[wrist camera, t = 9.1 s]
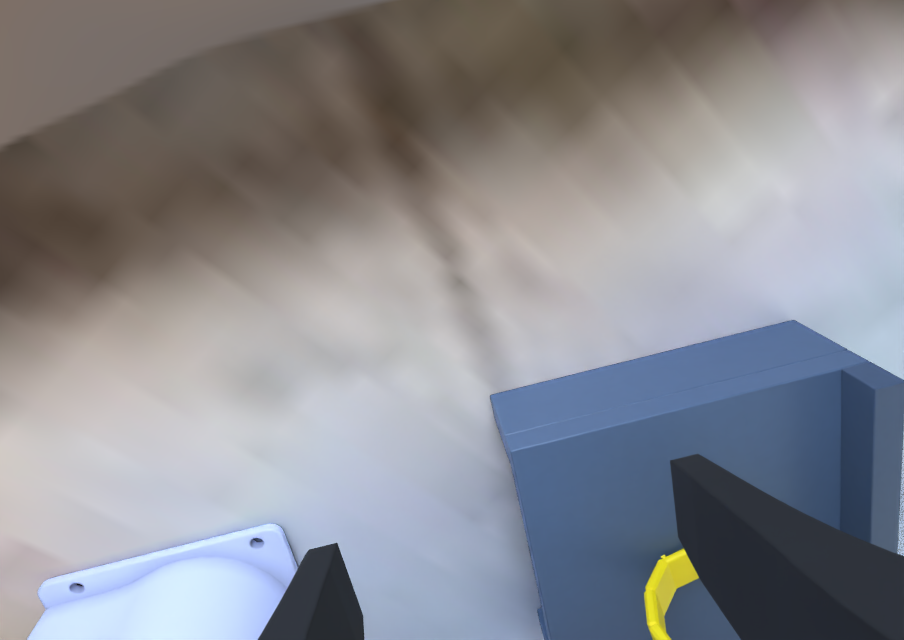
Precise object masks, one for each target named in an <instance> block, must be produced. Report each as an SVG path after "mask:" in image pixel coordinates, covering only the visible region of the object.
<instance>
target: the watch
mask: <svg viewBox="0 0 904 640" xmlns="http://www.w3.org/2000/svg"><path fill="white" fill-rule="evenodd" d="M661 558H662V559H660V560H658V562H657V564H656V566H655V568H654V570H653V572H652V574H651V576H650V578H649V580H648V582H647V584H646V586H645V589H646V591H645V592H644V598H645V608H646V617H647V625H648V628H649V631H650V633H651V636H652V639H653V640H671V638H670V637H669V636H668V634H667V633H666V626H665V619H664V616H665V613H666V611H667V609H668V607H669V604H670V602H671V600H672V598H673V595H674V593H675V591H676V589H677V588H679V587H681V586H684V585H686V584H688V583H690V582H692V581H694V580H696V579H698V578H699V576H698V575H697V573H696V571H695V569H694V567H693V565H692V563H691V561H690V560H689V558H688V556H687V554H686V552H685V550H684V548H683V549H681V550H679V551H677V552H675V553H673V554H671V555H669V556H667V557H666V555H663V556H661Z"/></svg>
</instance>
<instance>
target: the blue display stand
mask: <svg viewBox="0 0 904 640" xmlns="http://www.w3.org/2000/svg"><path fill="white" fill-rule="evenodd" d="M490 399H491V403H492V408H493V413H494V417H495V421H496V424H497V427H498V430H499V433H500V436H501V438H502V441H503V444H504V447H505V450H506V453H507V456H508V458H509V461H510V464H511V468H512V473H513V477H514V482H515V487H516V491H517V496H518V501H519V505H520V510H521V514H522V519H523V524H524V528H525V533H526V537H527V542H528V547H529V551H530V556H531V560H532V565H533V570H534V574H535V579H536V583H537V588H538V593H539V597H540V602H541V607H542V608H540V609H538V610H537V612H538V616H539V621H540V625H541V630H542V633H543V636H544V640H653V639H652V636H651V633H650V631H649V628H648V625H647V617H646V608H645V598H644V592H645V591H646V589H645V586H646V584H647V582H648V580H649V578H650V576H651V574H652V572H653V570H654V568H655V566H656V564H657V562H658V560H660V559H662V558H661V556H663V555H666V557H667V556H669V555H671V554H673V553H675V552H677V551H679V550H681V549H683V546H682V544H681V542H680V540H679V538H678V532H677V523H676V513H675V504H674V494H673V485H672V476H671V466H670V460H674V459H678V458H682V457H686V456H690V455H694V454H699V455H701V456H703V457H705V458H707V459H708V460H710V461H712V462H713V463H715V464H717V465H719V466H720V467H722V468H724V469H725V470H727V471H729V472H730V473H732V474H734V475H736V476H737V477H739V478H741V479H742V480H744V481H746V482H748V483H749V484H751V485H753V486H755V487H756V488H758V489H760V490H762V491H763V492H765V493H767V494H769V495H771V496H772V497H774V498H776V499H778V500H780V501H782V502H784V503H785V504H787V505H789V506H791V507H793V508H795V509H797V510H799V511H801V512H803V513H805V514H807V515H809V516H811V517H813V518H815V519H817V520H819V521H821V522H823V523H825V524H828V525H830V526H832V527H834V528H836V529H838V530H840V531H843V532H845V533H847V534H849V535H852V536H854V537H856V538H859V539H861V540H864V541H866V542H869V543H871V544H873V545H876V546H878V547H881V548H883V549H886V550H888V551H891V552H893V553H896V554H897V551H898V531H899V510H900V490H901V470H902V450H903V430H904V380H902V379H901V378H899V377H897V376H895V375H893V374H892V373H890V372H888V371H886V370H884V369H882V368H881V367H879V366H877V365H875V364H873V363H872V362H869V361H868V360H866V359H864V358H862V357H860V356H859V355H857V354H855V353H853V352H851V351H849V350H847V349H846V348H844V347H842V346H840V345H839V344H837V343H835V342H833V341H831V340H829V339H828V338H826V337H824V336H822V335H820V334H819V333H817V332H815V331H813V330H811V329H809V328H808V327H806V326H804V325H802V324H800V323H799V322H797V321H795V320H791V321H787V322H783V323H779V324H775V325H771V326H767V327H763V328H759V329H755V330H751V331H747V332H743V333H739V334H735V335H731V336H727V337H723V338H719V339H715V340H711V341H707V342H702V343H698V344H694V345H690V346H686V347H682V348H678V349H674V350H670V351H666V352H662V353H658V354H654V355H650V356H646V357H642V358H638V359H634V360H630V361H626V362H622V363H618V364H614V365H610V366H606V367H602V368H598V369H594V370H590V371H585V372H581V373H577V374H573V375H569V376H565V377H561V378H557V379H553V380H549V381H545V382H541V383H537V384H533V385H529V386H525V387H521V388H517V389H513V390H509V391H505V392H501V393H497V394H493V395H490ZM664 619H665V626H666V633H667V634H668V636H669V637H670V638H671V640H741V639H740V637H739V636H738V634H737V633H736V632H735V630H734V629H733V627H732V626H731V624H730V623H729V621H728V620H727V619H726V617H725V616H724V614H723V613H722V611H721V610H720V608H719V607H718V605H717V604H716V602H715V601H714V599H713V598H712V597H711V595H710V594H709V592H708V591H707V589H706V588H705V586H704V585H703V583H702V582H701V580H700V578H698V579H696V580H694V581H692V582H690V583H688V584H686V585H684V586H681V587H679V588H677V589H676V591H675V593H674V595H673V598H672V600H671V602H670V604H669V607H668V609H667V611H666V613H665V616H664Z"/></svg>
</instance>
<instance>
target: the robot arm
mask: <svg viewBox="0 0 904 640" xmlns="http://www.w3.org/2000/svg"><path fill="white" fill-rule="evenodd" d="M670 466H671V476H672V485H673V494H674V504H675V513H676V523H677V532H678V538H679V540H680V542H681V544H682V546H683V548H684V550H685V552H686V554H687V556H688V558H689V560H690V561H691V563H692V565H693V567H694V569H695V571H696V573H697V575H698V576H699V578H700V580H701V582H702V583H703V585H704V586H705V588H706V589H707V591H708V592H709V594H710V595H711V597H712V598H713V599H714V601H715V602H716V604H717V605H718V607H719V608H720V610H721V611H722V613H723V614H724V616H725V617H726V619H727V620H728V621H729V623H730V624H731V626H732V627H733V629H734V630H735V632H736V633H737V634H738V636H739V637H740V639H741V640H904V556H902V555H899V554H896V553H893V552H891V551H888V550H886V549H883V548H881V547H878V546H876V545H873V544H871V543H869V542H866V541H864V540H861V539H859V538H856V537H854V536H852V535H849V534H847V533H845V532H843V531H840V530H838V529H836V528H834V527H832V526H830V525H828V524H825V523H823V522H821V521H819V520H817V519H815V518H813V517H811V516H809V515H807V514H805V513H803V512H801V511H799V510H797V509H795V508H793V507H791V506H789V505H787V504H785V503H784V502H782V501H780V500H778V499H776V498H774V497H772V496H771V495H769V494H767V493H765V492H763V491H762V490H760V489H758V488H756V487H755V486H753V485H751V484H749V483H748V482H746V481H744V480H742V479H741V478H739V477H737V476H736V475H734V474H732V473H730V472H729V471H727V470H725V469H724V468H722V467H720V466H719V465H717V464H715V463H713V462H712V461H710V460H708V459H707V458H705V457H703V456H701V455H699V454H694V455H690V456H686V457H682V458H678V459H674V460H670ZM253 538H260V539H262V540H263V541H262V542H256V541H254V540H253ZM76 583H79V584H82V585H83V586H78V585H77V584H76ZM38 597H39V599H40V600H41V602H42V604H43V605H44V607H45V609H46V610H45V612H44V613H43V615H42V616H41V618H40V620H39V621H38V623H37V624H36V626H35V627H34V629H33V630H32V632H31V634H30V635H29V637H28V638H27V640H364V625H363V614H362V611H361V609H360V606H359V603H358V600H357V597H356V595H355V592H354V589H353V586H352V583H351V580H350V578H349V575H348V572H347V569H346V566H345V564H344V561H343V558H342V555H341V552H340V550H339V547H338V544H337V543H335V544H331V545H326V546H322V547H318V548H314V549H310V550H308V552H307V553H306V555H305V557H304V558H303V560H302V562H301V564H300V566H299V567H297V564H296V561H295V559H294V556H293V554H292V551H291V549H290V546H289V543H288V541H287V538H286V536H285V533H284V531H283V529H282V528H281V527H280V526H278V525H276V524H265V525H261V526H257V527H253V528H249V529H245V530H241V531H237V532H233V533H229V534H225V535H221V536H217V537H213V538H209V539H205V540H201V541H197V542H193V543H189V544H185V545H181V546H177V547H173V548H169V549H165V550H161V551H157V552H153V553H149V554H145V555H141V556H137V557H133V558H129V559H125V560H122V561H118V562H114V563H110V564H106V565H102V566H98V567H94V568H90V569H86V570H82V571H78V572H74V573H70V574H66V575H62V576H58V577H54V578H50V579H48V580H45V581H44V582H43V584H42V585H41V586H40V588H39V589H38Z"/></svg>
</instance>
